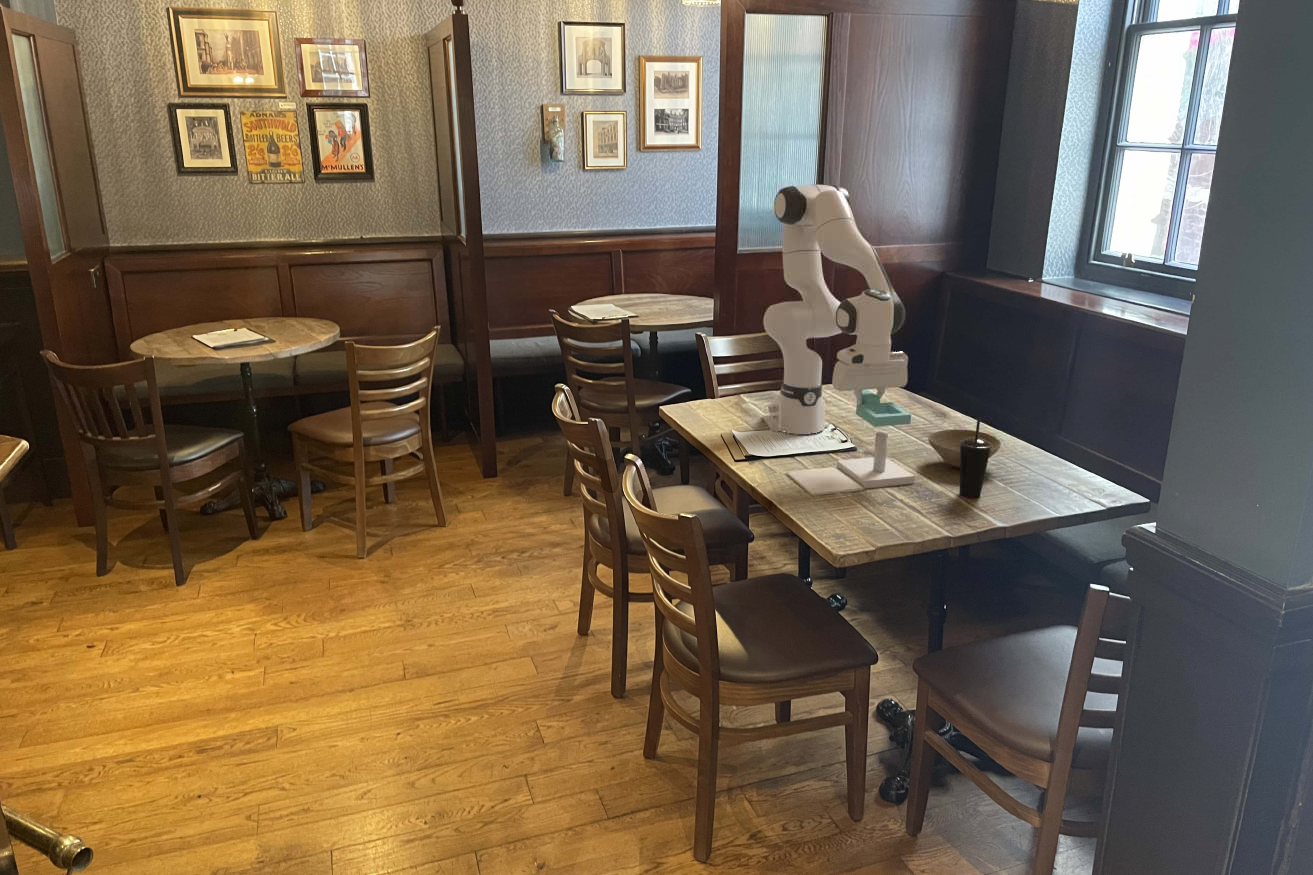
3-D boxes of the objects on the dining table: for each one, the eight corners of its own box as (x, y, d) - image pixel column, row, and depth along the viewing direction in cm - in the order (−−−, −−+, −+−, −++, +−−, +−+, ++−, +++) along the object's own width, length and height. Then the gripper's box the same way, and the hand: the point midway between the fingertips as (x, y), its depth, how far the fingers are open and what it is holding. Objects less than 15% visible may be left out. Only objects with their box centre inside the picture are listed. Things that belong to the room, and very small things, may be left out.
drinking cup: (985, 502, 224) (995, 424, 218) (952, 498, 226) (961, 420, 220) (986, 491, 231) (995, 415, 224) (954, 487, 233) (963, 412, 227)
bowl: (922, 473, 243) (924, 444, 241) (929, 452, 260) (932, 425, 257) (996, 482, 237) (999, 453, 235) (998, 460, 253) (1002, 432, 251)
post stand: (836, 467, 247) (839, 424, 243) (883, 463, 251) (886, 421, 247) (865, 488, 232) (868, 443, 229) (914, 483, 236) (918, 438, 232)
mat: (786, 473, 242) (786, 471, 242) (834, 469, 246) (834, 467, 246) (812, 495, 228) (812, 493, 227) (863, 490, 231) (863, 487, 231)
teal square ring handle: (845, 406, 244) (846, 392, 242) (879, 404, 246) (880, 389, 245) (874, 426, 229) (876, 411, 228) (910, 423, 232) (912, 408, 231)
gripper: (902, 348, 243) (897, 398, 247) (831, 352, 238) (827, 404, 242) (914, 354, 237) (909, 405, 242) (842, 358, 232) (838, 410, 236)
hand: (868, 404), depth 242 cm, fingers closed on teal square ring handle, 3 cm apart
